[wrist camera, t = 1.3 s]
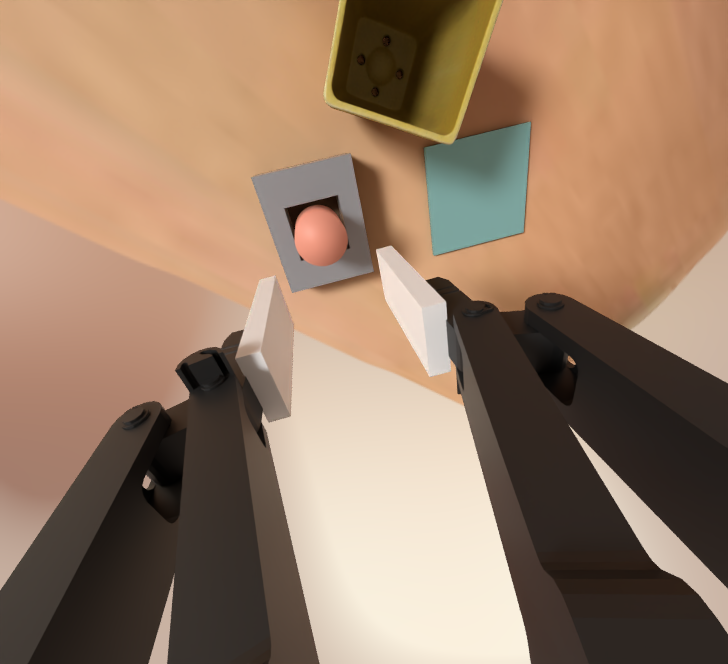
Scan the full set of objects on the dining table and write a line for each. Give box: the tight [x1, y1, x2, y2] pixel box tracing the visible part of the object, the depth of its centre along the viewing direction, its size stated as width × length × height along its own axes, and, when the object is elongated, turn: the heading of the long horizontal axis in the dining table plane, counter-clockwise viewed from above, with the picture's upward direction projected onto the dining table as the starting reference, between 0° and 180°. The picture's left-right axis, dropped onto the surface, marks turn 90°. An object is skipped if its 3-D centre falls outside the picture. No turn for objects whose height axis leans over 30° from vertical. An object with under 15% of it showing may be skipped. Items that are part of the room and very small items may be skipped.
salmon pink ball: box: [295, 205, 348, 266], centre depth 25 cm, size 4×4×4 cm
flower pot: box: [324, 0, 503, 145], centre depth 21 cm, size 9×9×9 cm
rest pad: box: [424, 122, 531, 256], centre depth 31 cm, size 10×10×1 cm
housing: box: [251, 153, 374, 293], centre depth 28 cm, size 10×8×3 cm
